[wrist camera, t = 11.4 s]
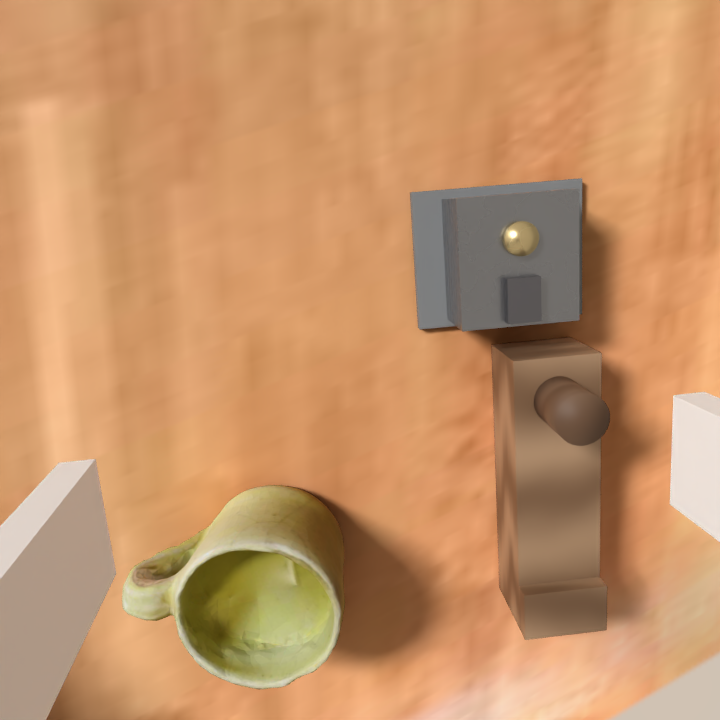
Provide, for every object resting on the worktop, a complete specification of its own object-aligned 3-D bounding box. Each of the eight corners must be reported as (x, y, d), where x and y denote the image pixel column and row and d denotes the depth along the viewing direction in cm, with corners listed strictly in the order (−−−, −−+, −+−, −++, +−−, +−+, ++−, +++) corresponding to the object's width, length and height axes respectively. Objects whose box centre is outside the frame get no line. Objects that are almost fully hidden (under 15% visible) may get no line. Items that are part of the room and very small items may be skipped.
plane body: (571, 579, 45) (626, 658, 37) (499, 587, 44) (539, 668, 37) (570, 337, 41) (631, 368, 33) (491, 344, 40) (534, 377, 33)
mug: (385, 485, 40) (350, 615, 31) (345, 593, 45) (306, 731, 36) (199, 420, 41) (114, 530, 32) (180, 535, 46) (103, 656, 37)
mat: (418, 327, 40) (419, 329, 39) (410, 192, 38) (411, 192, 37) (578, 312, 40) (581, 314, 40) (578, 178, 38) (582, 178, 38)
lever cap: (553, 309, 39) (584, 322, 35) (447, 318, 39) (465, 333, 35) (551, 190, 38) (584, 188, 33) (441, 199, 37) (459, 198, 33)
